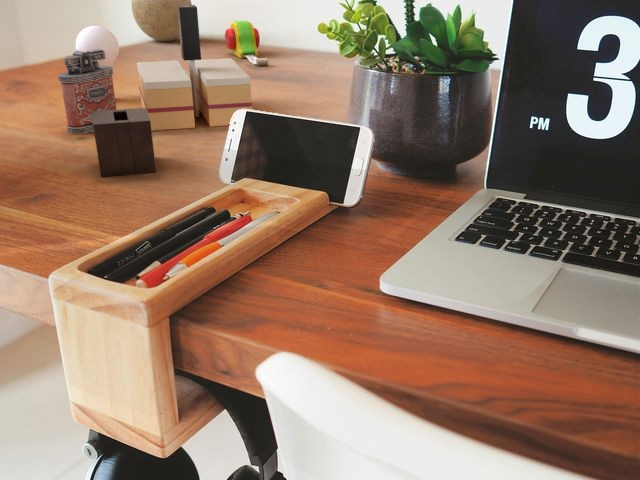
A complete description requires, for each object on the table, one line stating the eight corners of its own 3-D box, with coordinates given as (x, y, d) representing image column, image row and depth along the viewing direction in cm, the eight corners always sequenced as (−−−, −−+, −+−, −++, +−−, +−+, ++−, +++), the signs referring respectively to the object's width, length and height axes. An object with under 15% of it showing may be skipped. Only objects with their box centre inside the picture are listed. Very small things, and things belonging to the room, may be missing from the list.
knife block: (101, 177, 81) (93, 124, 78) (99, 161, 86) (91, 110, 83) (156, 172, 83) (150, 120, 80) (151, 156, 88) (145, 107, 85)
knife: (189, 117, 104) (179, 7, 97) (186, 112, 106) (176, 4, 99) (206, 116, 104) (197, 7, 98) (203, 111, 107) (194, 4, 100)
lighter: (79, 135, 94) (66, 57, 90) (61, 131, 96) (48, 54, 91) (125, 122, 101) (115, 48, 96) (108, 118, 102) (97, 45, 98)
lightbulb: (77, 98, 112) (65, 24, 107) (115, 93, 116) (105, 21, 111) (93, 106, 108) (82, 30, 103) (132, 101, 112) (123, 26, 107)
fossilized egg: (123, 42, 157) (114, -33, 151) (160, 34, 168) (153, -36, 161) (171, 47, 153) (163, -29, 146) (206, 39, 163) (200, -33, 157)
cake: (149, 131, 97) (144, 82, 94) (141, 106, 109) (136, 62, 106) (253, 123, 102) (250, 77, 99) (234, 100, 113) (231, 58, 110)
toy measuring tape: (250, 48, 154) (248, 16, 151) (278, 65, 139) (277, 30, 136) (220, 50, 152) (218, 17, 149) (246, 67, 136) (244, 31, 133)
